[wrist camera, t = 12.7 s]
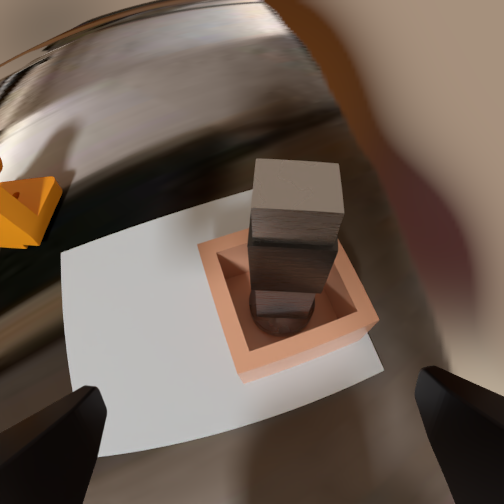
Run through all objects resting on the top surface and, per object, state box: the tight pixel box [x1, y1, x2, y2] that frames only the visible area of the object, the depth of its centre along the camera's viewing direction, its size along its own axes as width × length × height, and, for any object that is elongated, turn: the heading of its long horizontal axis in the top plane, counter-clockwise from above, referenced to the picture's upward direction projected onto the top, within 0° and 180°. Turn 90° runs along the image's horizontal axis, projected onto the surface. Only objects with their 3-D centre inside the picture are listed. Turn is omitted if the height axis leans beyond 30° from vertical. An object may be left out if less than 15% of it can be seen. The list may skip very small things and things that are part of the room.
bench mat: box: [61, 189, 384, 457], centre depth 23 cm, size 18×22×1 cm
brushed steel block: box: [247, 159, 344, 337], centre depth 17 cm, size 4×4×12 cm
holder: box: [197, 228, 379, 384], centre depth 21 cm, size 8×8×4 cm
